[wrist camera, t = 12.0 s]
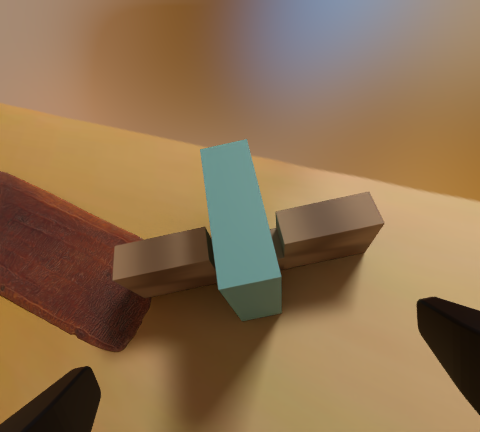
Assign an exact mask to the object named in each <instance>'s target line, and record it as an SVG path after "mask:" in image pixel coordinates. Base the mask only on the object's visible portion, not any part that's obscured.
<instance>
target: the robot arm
mask: <svg viewBox="0 0 480 432" xmlns="http://www.w3.org/2000/svg"><path fill="white" fill-rule="evenodd" d="M417 322H418V329H419V332H420V334H421V336H422V337H423V339H424V340H425V341H426V343H427V344H428V346H429V347H430V349H431V350H432V352H433V353H434V354H435V356H436V357H437V359H438V360H439V362H440V363H441V365H442V366H443V368H444V369H445V370H446V372H447V373H448V375H449V376H450V378H451V379H452V381H453V382H454V383H455V385H456V386H457V388H458V389H459V390H460V392H461V393H462V394H463V395H464V397H465V398H466V399H467V400H468V402H469V403H470V404H471V405H472V407H473V408H474V409H475V410H476V411H477V413H478V414H479V415H480V311H479V310H475V309H472V308H469V307H466V306H463V305H459V304H456V303H453V302H450V301H447V300H443V299H440V298H437V297H428V298H423V299H419V300H418V301H417ZM100 398H101V391H100V387H99V385H98V382H97V380H96V378H95V375H94V373H93V371H92V369H91V368H90V367H88V366H85V367H80V368H75V369H73V370H71V371H70V372H68V373H67V374H66V375H64V376H63V377H62V378H61V379H59V380H58V381H57V382H55V383H54V384H53V385H51V386H50V387H49V388H47V389H46V390H45V391H43V392H42V393H41V394H40V395H38V396H37V397H36V398H34V399H33V400H32V401H30V402H29V403H28V404H26V405H25V406H24V407H22V408H21V409H20V410H19V411H17V412H16V413H15V414H13V415H12V416H11V417H9V418H8V419H7V420H5V421H4V422H3V423H1V424H0V432H91V430H92V426H93V423H94V419H95V416H96V412H97V409H98V405H99V402H100Z"/></svg>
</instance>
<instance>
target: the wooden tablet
mask: <svg viewBox="0 0 480 432" xmlns="http://www.w3.org/2000/svg"><path fill="white" fill-rule="evenodd" d="M141 240H143V239H142V238H140V237H138V236H137V235H135V234H133V233H130V232H128V231H126V230H124V229H121V228H119V227H117V226H115V225H113V224H111V223H109V222H107V221H105V220H103V219H100V218H99V217H96V216H94V215H92V214H90V213H88V212H86V211H84V210H82V209H80V208H78V207H77V206H75V205H73V204H71V203H69V202H67V201H65V200H63V199H61V198H59V197H57V196H55V195H53V194H51V193H49V192H47V191H45V190H43V189H41V188H39V187H37V186H34V185H32V184H30V183H28V182H25V181H24V180H21V179H19V178H17V177H15V176H13V175H10V174H8V173H5V172H1V171H0V295H2V296H4V297H6V298H7V299H9V300H11V301H12V302H14V303H16V304H17V305H19V306H21V307H23V308H25V309H26V310H28V311H30V312H32V313H34V314H35V315H37V316H39V317H41V318H43V319H45V320H46V321H48V322H50V323H51V324H53V325H55V326H57V327H59V328H60V329H62V330H64V331H66V332H67V333H69V334H76V335H77V337H78V338H79V339H82V340H84V341H86V342H88V343H90V344H92V345H94V346H96V347H99V348H101V349H105V350H109V351H114V352H115V351H121V350H123V349H124V348H125V347H126V345H127V344H128V342H129V341H130V340H131V339H132V338H133V336H134V335H135V333H136V331H137V329H138V328H139V326H140V325H141V323H142V319H143V317H144V315H145V314H146V312H147V311H148V309H149V307H150V302H151V297H148V298H143V297H141V296H140V295H138V294H136V293H134V292H132V291H131V290H129V289H127V288H125V287H123V286H122V285H120V284H118V283H116V282H114V281H113V280H112V279H113V264H114V248H115V246H117V245H122V244H127V243H131V242H136V241H141Z"/></svg>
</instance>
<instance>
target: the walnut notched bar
mask: <svg viewBox="0 0 480 432" xmlns="http://www.w3.org/2000/svg"><path fill="white" fill-rule="evenodd" d="M383 225H384V221H383V219H382V217H381V215H380V213H379V211H378V209H377V207H376V205H375V203H374V200H373V198H372V196H371V194H370V192H365V193H360V194H355V195H351V196H346V197H341V198H337V199H332V200H327V201H323V202H318V203H313V204H309V205H304V206H299V207H295V208H290V209H285V210H281V211H276V228H274V229H270V233H271V237H272V241H273V245H274V249H275V253H276V257H277V261H278V265H279V269H280V270H283V269H288V268H293V267H297V266H302V265H307V264H312V263H317V262H321V261H326V260H331V259H336V258H341V257H345V256H350V255H355V254H360V253H365V251H366V250H367V248H368V247H369V245H370V244H371V243H372V241H373V240H374V238H375V237H376V235H377V234H378V232H379V231H380V229H381V228H382V226H383ZM112 280H113V281H114V282H116V283H118V284H120V285H122V286H123V287H125V288H127V289H129V290H131V291H132V292H134V293H136V294H138V295H140V296H141V297H143V298H148V297H153V296H158V295H163V294H168V293H173V292H177V291H182V290H187V289H192V288H197V287H201V286H206V285H211V284H216V283H218V282H217V275H216V267H215V259H214V252H213V244H212V239H211V237H210V235H209V233H208V232H207V230H206V228H205V227H201V228H197V229H192V230H187V231H183V232H178V233H173V234H169V235H164V236H159V237H155V238H150V239H145V240H141V241H136V242H131V243H127V244H122V245H117V246H115V248H114V264H113V279H112Z"/></svg>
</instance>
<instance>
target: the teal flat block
mask: <svg viewBox="0 0 480 432" xmlns="http://www.w3.org/2000/svg"><path fill="white" fill-rule="evenodd" d="M200 152H201V160H202V167H203V175H204V183H205V190H206V198H207V206H208V213H209V221H210V229H211V236H212V244H213V252H214V259H215V267H216V275H217V282H218V290H219V291H220V292H221V294H222V295H223V296H224V298H225V299H226V300H227V302H228V303H229V304H230V306H231V307H232V308H233V310H234V311H235V312H236V314H237V315H238V316H239V318H240V319H241V320H242V321H246V320H251V319H256V318H261V317H266V316H271V315H276V314H281V313H282V277H281V273H280V269H279V265H278V261H277V257H276V253H275V249H274V245H273V241H272V237H271V233H270V229H269V225H268V221H267V217H266V213H265V209H264V205H263V201H262V197H261V193H260V189H259V186H258V182H257V178H256V174H255V170H254V166H253V162H252V158H251V154H250V150H249V146H248V142H247V139H246V140H241V141H237V142H232V143H228V144H223V145H218V146H214V147H209V148H205V149H200Z"/></svg>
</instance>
